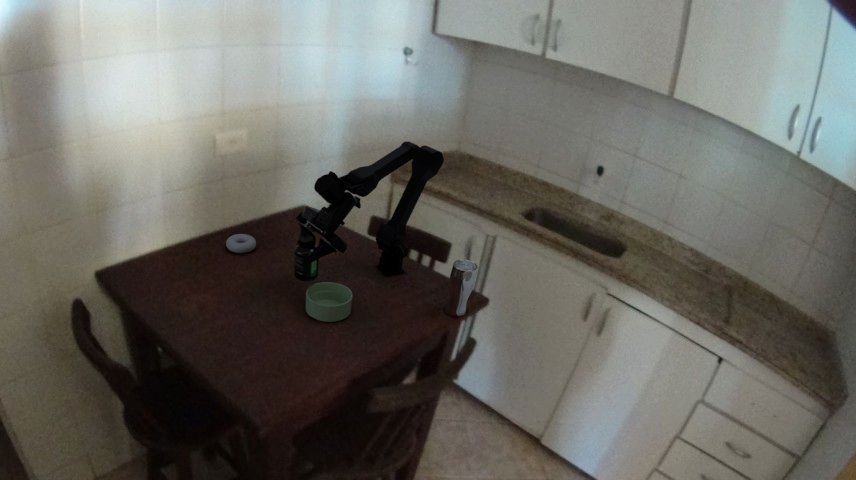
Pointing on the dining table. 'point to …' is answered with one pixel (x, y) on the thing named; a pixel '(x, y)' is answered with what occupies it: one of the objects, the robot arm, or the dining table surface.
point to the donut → (241, 243)
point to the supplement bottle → (305, 258)
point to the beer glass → (460, 287)
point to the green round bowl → (328, 301)
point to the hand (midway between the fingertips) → (302, 256)
